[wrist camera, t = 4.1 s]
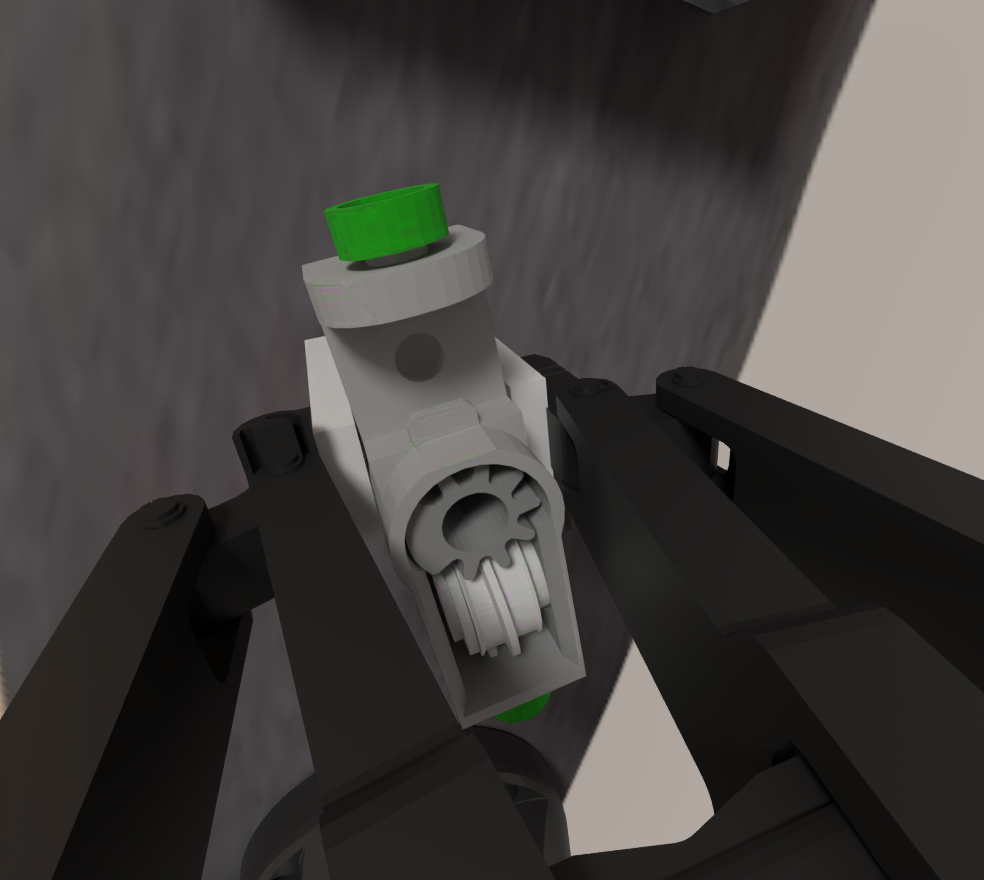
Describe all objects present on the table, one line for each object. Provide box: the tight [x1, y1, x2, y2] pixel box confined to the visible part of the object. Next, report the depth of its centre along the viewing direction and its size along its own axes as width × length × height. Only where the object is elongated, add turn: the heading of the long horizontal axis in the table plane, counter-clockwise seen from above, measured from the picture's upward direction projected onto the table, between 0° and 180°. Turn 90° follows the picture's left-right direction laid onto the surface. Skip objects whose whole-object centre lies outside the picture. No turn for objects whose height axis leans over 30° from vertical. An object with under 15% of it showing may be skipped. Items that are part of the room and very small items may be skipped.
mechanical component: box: [302, 183, 586, 729], centre depth 13 cm, size 3×10×10 cm, turn 12°
